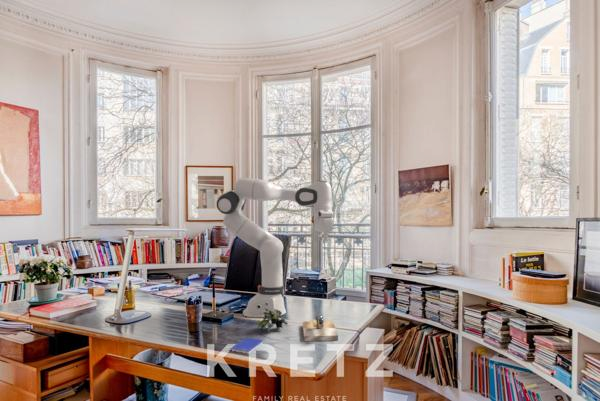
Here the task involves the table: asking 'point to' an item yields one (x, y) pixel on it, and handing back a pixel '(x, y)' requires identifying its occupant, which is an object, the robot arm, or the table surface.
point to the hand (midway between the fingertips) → (322, 241)
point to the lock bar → (320, 320)
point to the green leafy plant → (272, 319)
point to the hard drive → (246, 345)
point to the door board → (319, 331)
